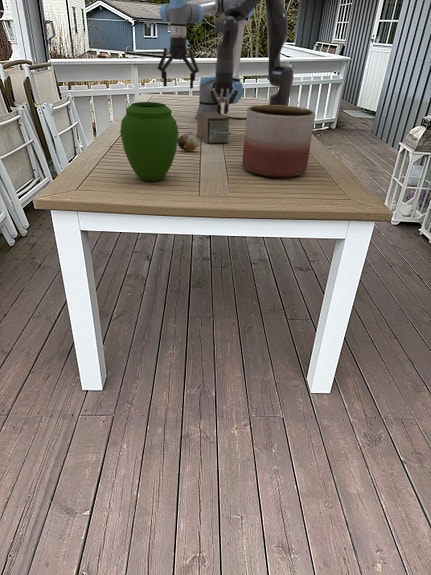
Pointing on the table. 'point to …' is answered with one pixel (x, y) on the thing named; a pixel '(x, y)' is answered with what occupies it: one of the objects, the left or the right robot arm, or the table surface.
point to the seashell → (188, 142)
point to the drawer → (219, 131)
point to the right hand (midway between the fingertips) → (222, 113)
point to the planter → (277, 140)
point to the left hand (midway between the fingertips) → (178, 87)
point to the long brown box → (207, 124)
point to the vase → (149, 139)
